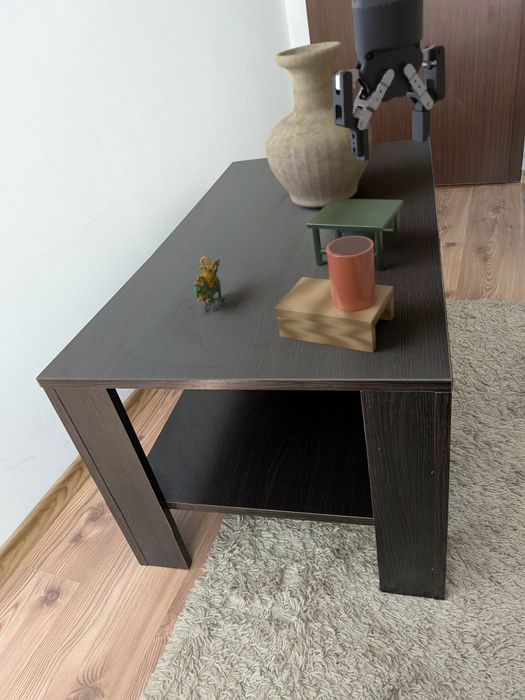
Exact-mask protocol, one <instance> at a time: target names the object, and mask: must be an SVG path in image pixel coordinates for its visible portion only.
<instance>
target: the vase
mask: <svg viewBox="0 0 525 700" xmlns="http://www.w3.org/2000/svg"><path fill="white" fill-rule="evenodd" d="M343 47H344V45H343V43H342V42H341V41H324V42H323V41H322V42H317V43H312V44H306V45H305V44H304V45H302V46H297V47H292V48H289V49H286V50H284V51H281V52H278V53H277V54H275V57H274V59H275V62H276V64H277V66H278V67H280V68H283V69H285V70H287V71H288V73H289V75H290V78H291V79H290V80H291V87H292V96H293V109H292V111H291V112H290V113H289V114H287V116H285V117H284V118H282V119H281V120H280V121H278V122H277V123H276V124H275V125H274V126H273V128H272V129H271V130H270V131H269V132H268V134H267V136H266V138H265V139H266V140H265V146H264V147H265V148H264V149H265V155H266V158H267V162H268V165H269V167H270V170H271V171H272V173H273V175H274V176H275V177H276V179H277V181H278V182H279V183H280V184H281V185H282V187H283V188H284V189H285V190H286V191H287V193H288V195H289V196H290V200H291V201H292V202H293V203H294V204H295V205H297V206H300V207H305V208H323V207H324V206H325V205H326V204H327V203H328V202H330V201H331V200H332V199H352V197H354V196H355V194H356V193H357V191H358V184H359V182H360V179H361V177H362V176H363V174H364V172H365V170H366V169H367V166H368V164H369V161H370V158H371V155H372V154H371V153H372V147H373V139H374V138H373V137H374V136H373V135H374V134H373V127H372V125H371V123H370V121H369V122H368V124H367V126H366V129H368V139H369V160H366V161H361V160H358V159H357V158H356V156H353V154H352V149H351V136H350V130H349V128H344V127H341V126H337V125H335V123H334V108H333V82H332V64H333V62H334V61H335V59H337V58H338V57H339V56H340V55H341V53H342V51H343Z"/></svg>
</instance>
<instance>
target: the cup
mask: <svg viewBox="0 0 525 700" xmlns="http://www.w3.org/2000/svg"><path fill="white" fill-rule="evenodd" d="M325 249H326V253H327V255H326V259H327V269H328V270H327V271H328V280H330V288H331V297H332V304H333V305H334V306H335V307H336V308H338V309H340V310H343V311H359V310H364V309H366V308H369V307H370V306H372V305H373V304H374V303H375V301H376V299H377V295H376V285H377V279H376V278H377V277H376V276H377V275H376V259H375V257H374V252H375V242H374V240H372V239H371V238H369V237H367V236H363V235H348V236H342V238H339V239H336V238H335V239H334V240H332V241H330V242H329V243H328V244H327V245H326V248H325Z"/></svg>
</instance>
